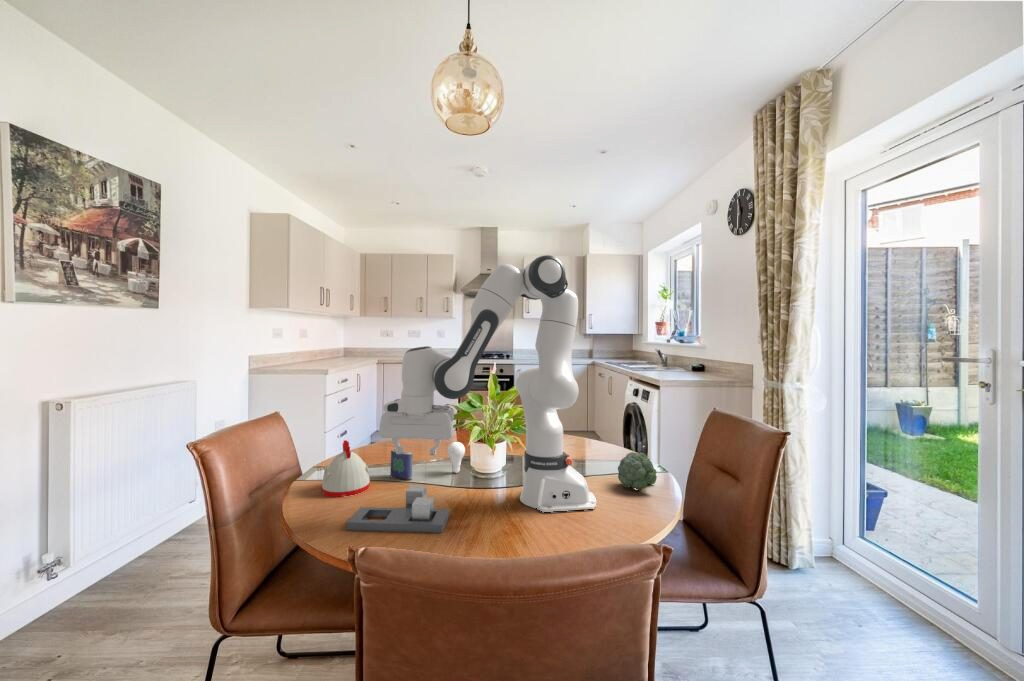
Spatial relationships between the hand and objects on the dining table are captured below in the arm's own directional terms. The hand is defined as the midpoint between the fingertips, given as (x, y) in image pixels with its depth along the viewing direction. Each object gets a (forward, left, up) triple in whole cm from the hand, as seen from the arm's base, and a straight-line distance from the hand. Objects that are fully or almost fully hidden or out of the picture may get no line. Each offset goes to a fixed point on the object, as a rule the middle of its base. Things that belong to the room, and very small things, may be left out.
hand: (416, 454), depth 112 cm
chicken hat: (+26, -14, -16) cm, 33 cm away
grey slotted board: (+2, +9, -15) cm, 18 cm away
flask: (+12, -25, -16) cm, 32 cm away
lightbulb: (-6, -31, -16) cm, 35 cm away
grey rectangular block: (0, 0, -16) cm, 16 cm away
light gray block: (-4, +9, -16) cm, 18 cm away
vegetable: (-68, -21, -16) cm, 72 cm away
